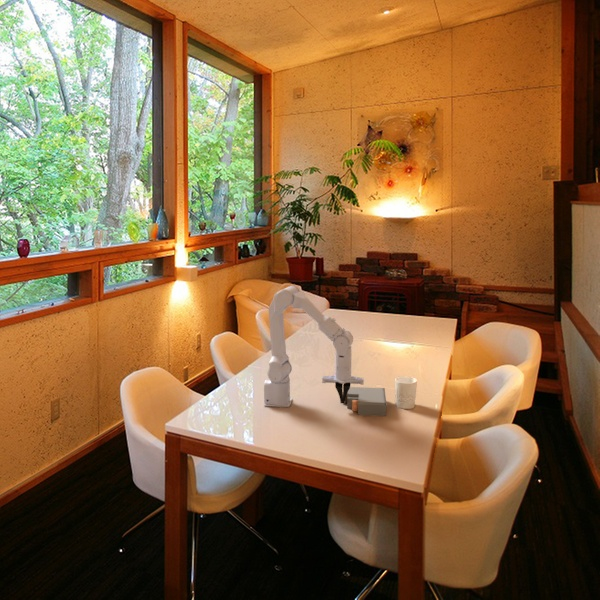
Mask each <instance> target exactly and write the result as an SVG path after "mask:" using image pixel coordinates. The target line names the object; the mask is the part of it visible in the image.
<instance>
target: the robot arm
mask: <svg viewBox="0 0 600 600" xmlns="http://www.w3.org/2000/svg"><path fill="white" fill-rule="evenodd" d="M290 306H291V308H292V309H301V310H302V311H304V312H305V313H306V314H307V315H308V316H310V318H312V320H314V321H315V322H316V323H317V325H318V329H319V330H320V331H321V332H322V333H323V334H324V335H325V336H326V337H327V338H328V339H329V340H330V341H331V342H333V343H332V345H333V347H334V349H335V355H334V375H328V376H325V375H324V376H322V384H326V383H329V384H332V383H333V384H335V385H334V386H335V389H336V391H337V394H338V396H339V399H340V400H339V401H340V404H345V403H346V402H345V398H346V395H347V393H348V390H349V389H350V387H351V384H354V385H355V384H356V385H361V386H362V385H364V381H365V379H364V377H358V376H352V356H353V355H352V344H353V342H354V337H353V335H352V333H351V331H348V330H346V329H345V328H342V326H340V325H339V324H338V322H336V321H337V320H336V318H334V317H331V316H325V315H324V314H323V313H322V312H321V311H320V310H319V309H318V307H316V305H315V304H314V303H313V302H312V301H311V300H310V299H309V298H308V297H307V296H306V294H305V293H304V292H303V291H302V290H300V288H299V287H297V286H296V285H289V286H287V287H285V288H282V289H280V290H278V291H277V292H276V293H275V294H273V298H272V300H271V302H270V305H269V307H268V320H269V321H268V322H269V333H270V334H269V335H270V349H271V352H270V353H271V357H270V360H269V362H268V365H269V366H268V367H269V368H268V371H267V378H268V379H265V380H264V386H263V401H264V403H263V406H264V407H277V408H279V407H281V408H282V407H283V408H290V407H291V403H292V400H293V398H292V397H291V386H290V385H291V383H290V382H291V381H290V380H291V379H290V374H291V372H292V368H293V366H292V364H291V362H290V359H289V358H290V357H289V356H288V354H287V350H286V348H287V347H286V346H287V345H286V334H285V333H286V331H285V320H284V319H285V318H284V312H285V311H286V310H287V309H288V308H289V307H290ZM342 392H343V393H342Z"/></svg>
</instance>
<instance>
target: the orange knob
mask: <svg viewBox="0 0 600 600" xmlns="http://www.w3.org/2000/svg"><path fill="white" fill-rule="evenodd" d="M351 411H352V412H358V400H352V409H351Z"/></svg>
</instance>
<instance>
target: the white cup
mask: <svg viewBox="0 0 600 600" xmlns="http://www.w3.org/2000/svg"><path fill="white" fill-rule="evenodd" d="M417 387H418V379H417V378H415V377H412V376H407V375H406V376H405V375H404V376H403V375H401V376H398V377H395V378H394V393H395V406H396V407H397V408H398V409H403V410H410V409H414V407H416V406H415V405H416V397H417Z"/></svg>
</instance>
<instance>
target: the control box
mask: <svg viewBox="0 0 600 600" xmlns="http://www.w3.org/2000/svg"><path fill="white" fill-rule="evenodd" d="M385 389H386V388H385V387H365V386H363V387H361V386H360V387H358V386H357V387H355V386H350V389H349V390H348V397H347V402H346V404H347V405H346V406H347V409H351V410H352V400H358V411H357V413H358V414H357V415H358V416H376V417H378V416H379V417H386V416H387V397H386V390H385Z"/></svg>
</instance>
